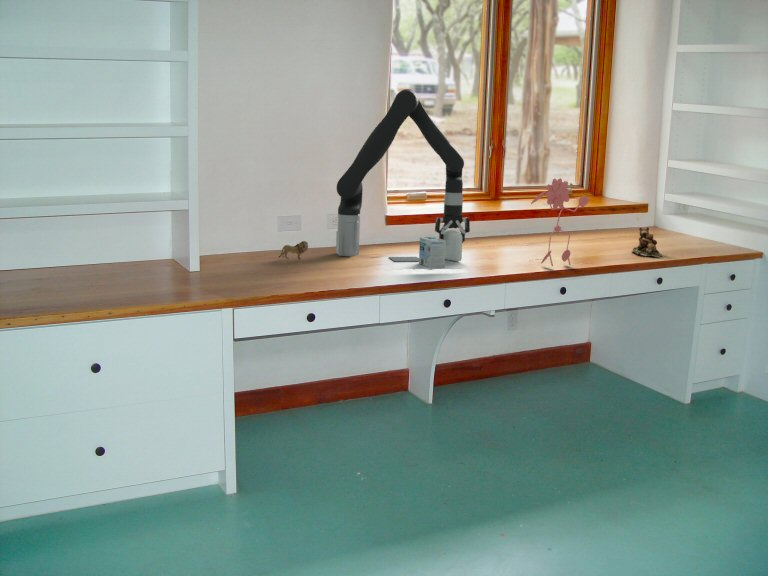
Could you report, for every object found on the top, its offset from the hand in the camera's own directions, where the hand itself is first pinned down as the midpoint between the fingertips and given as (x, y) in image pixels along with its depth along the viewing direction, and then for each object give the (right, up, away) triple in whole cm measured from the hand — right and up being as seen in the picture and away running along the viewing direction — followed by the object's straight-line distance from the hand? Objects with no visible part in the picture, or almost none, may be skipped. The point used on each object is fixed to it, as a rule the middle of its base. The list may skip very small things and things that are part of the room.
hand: (451, 242), depth 371 cm
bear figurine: (+90, -4, +34) cm, 97 cm away
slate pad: (-19, -7, -2) cm, 20 cm away
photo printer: (0, -7, +2) cm, 7 cm away
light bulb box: (-9, -10, -13) cm, 19 cm away
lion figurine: (-65, -7, -8) cm, 66 cm away
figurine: (+41, -9, +2) cm, 42 cm away
